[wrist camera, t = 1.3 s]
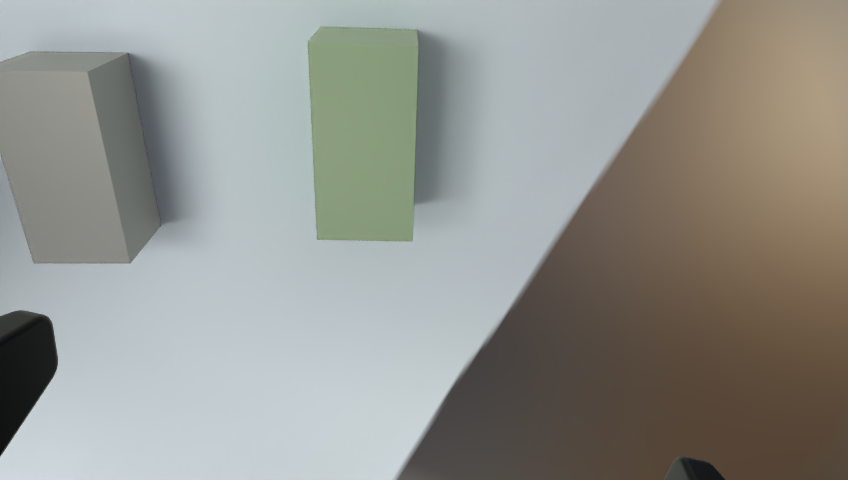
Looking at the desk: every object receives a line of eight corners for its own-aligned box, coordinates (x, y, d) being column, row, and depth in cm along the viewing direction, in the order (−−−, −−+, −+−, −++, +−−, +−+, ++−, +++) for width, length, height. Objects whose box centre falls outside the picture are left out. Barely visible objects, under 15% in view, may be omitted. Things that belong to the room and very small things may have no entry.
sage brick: (411, 203, 22) (412, 241, 20) (327, 201, 22) (317, 239, 20) (417, 28, 20) (418, 45, 17) (321, 25, 20) (307, 42, 17)
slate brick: (162, 223, 23) (129, 263, 20) (78, 222, 22) (33, 263, 20) (130, 51, 20) (87, 72, 17) (33, 50, 20) (-25, 70, 17)
